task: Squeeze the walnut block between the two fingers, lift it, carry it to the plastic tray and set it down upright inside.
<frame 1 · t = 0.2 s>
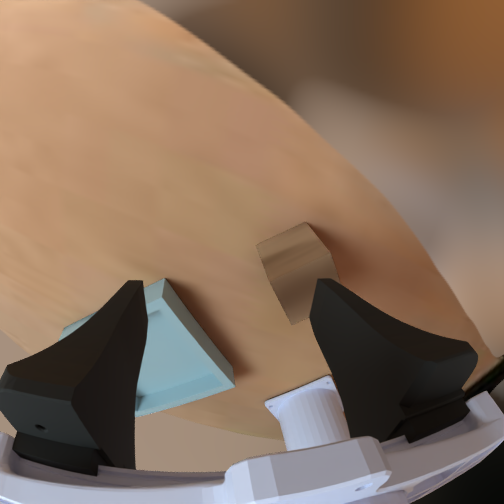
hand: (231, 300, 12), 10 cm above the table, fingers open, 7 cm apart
walnut block: (290, 254, 23), on the table
tray: (147, 350, 25), on the table
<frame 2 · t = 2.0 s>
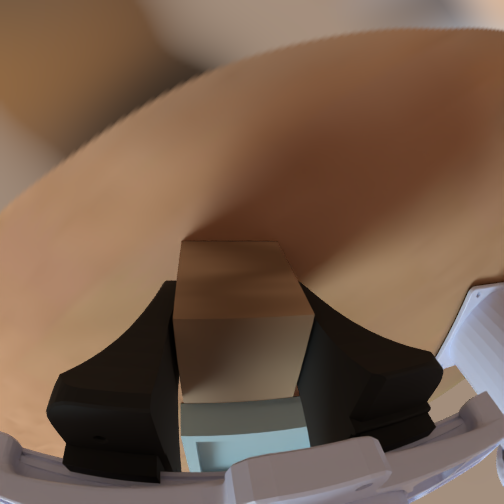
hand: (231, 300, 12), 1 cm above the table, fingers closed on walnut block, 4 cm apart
walnut block: (228, 282, 14), on the table, touching gripper
tray: (262, 439, 21), on the table
when the fingers open (4 cm above the table, at t = 6.0 s): walnut block drops 1 cm, resting on tray.
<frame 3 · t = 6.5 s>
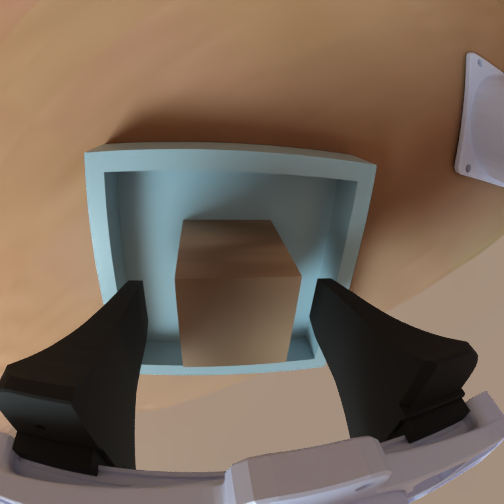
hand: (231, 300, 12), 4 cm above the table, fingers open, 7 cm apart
walnut block: (225, 258, 15), point 1 cm above the table, touching tray
tray: (224, 259, 15), on the table
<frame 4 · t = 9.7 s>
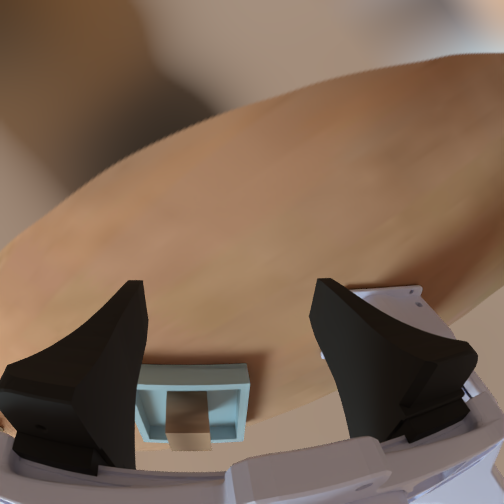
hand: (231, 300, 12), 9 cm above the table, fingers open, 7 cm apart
walnut block: (188, 402, 28), point 1 cm above the table, touching tray
tray: (188, 400, 29), on the table
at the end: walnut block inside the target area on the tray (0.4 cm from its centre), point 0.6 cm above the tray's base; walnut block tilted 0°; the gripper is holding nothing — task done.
